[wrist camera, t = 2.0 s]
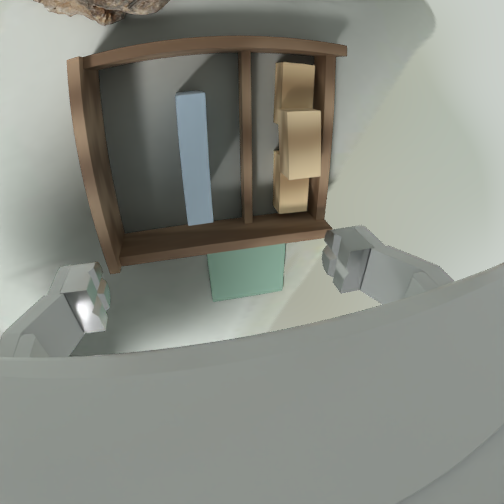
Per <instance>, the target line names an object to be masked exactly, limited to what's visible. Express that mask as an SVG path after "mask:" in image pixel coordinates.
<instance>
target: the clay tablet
mask: <svg viewBox="0 0 504 504" xmlns="http://www.w3.org/2000/svg"><path fill="white" fill-rule="evenodd" d="M33 1H36V2H39V3H43V4H44V6H45V8H47V9H48V11H49V12H54V13H57V14H67V15H68V16H70V17H71V16H73V15H75V14H80V15H85V16H86V17H88V18H89V19H91V20H96V21H97V22H98V23H99V24H101V25H103V26H106V25H109V24H113V23H115V22H117V21H119V20H121V19H123V18H124V17H125V12H126V13H129V14H139V15H147V14H151V13H156V12H157V11H159V10H161V9H162V8H163V7H164V6H165V5H166V4H167V3H168V2H169V1H170V0H33Z"/></svg>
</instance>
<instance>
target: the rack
mask: <svg viewBox="0 0 504 504" xmlns="http://www.w3.org/2000/svg"><path fill="white" fill-rule="evenodd" d="M210 53H238V78H239V126H240V166H241V202H242V217H241V218H233V219H225V220H217V221H213V223H206V224H198V225H191V226H188V224H187V225H180V226H173V227H166V228H159V229H152V230H145V231H139V232H132V233H126V234H125V232H124V228H123V224H122V220H121V216H120V211H119V207H118V202H117V198H116V193H115V188H114V183H113V178H112V173H111V167H110V162H109V156H108V150H107V144H106V137H105V130H104V122H103V114H102V105H101V96H100V84H99V70H101V69H106V68H110V67H114V66H119V65H124V64H129V63H134V62H140V61H146V60H152V59H159V58H167V57H175V56H184V55H195V54H210ZM251 53H281V54H295V55H307V56H314V65H315V75H314V94H313V109H316V110H320V111H321V176H320V177H311V178H309V188H308V201H307V211H303V212H293V213H284V214H279V213H275V214H266V215H258V216H253V212H252V122H251ZM339 56H347V46H345V45H340V44H334V43H328V42H321V41H313V40H305V39H296V38H284V37H269V36H209V37H193V38H182V39H172V40H164V41H157V42H150V43H144V44H138V45H133V46H127V47H122V48H118V49H113V50H109V51H105V52H101V53H97V54H93V55H89V56H85V57H75V58H72V59H69V60H67V74H68V86H69V97H70V106H71V114H72V121H73V128H74V135H75V141H76V147H77V152H78V157H79V163H80V167H81V172H82V177H83V181H84V186H85V190H86V194H87V198H88V202H89V206H90V210H91V214H92V217H93V221H94V225H95V228H96V232H97V235H98V238H99V242H100V245H101V248H102V251H103V254H104V257H105V260H106V263H107V266H108V269H109V272H110V274H116V273H120V271H121V266H128V265H135V264H142V263H149V262H156V261H163V260H170V259H177V258H184V257H191V256H198V255H205V254H212V253H219V252H226V251H234V250H241V249H248V248H255V247H262V246H269V245H277V244H284V243H291V242H298V241H306V240H313V239H320V238H325V234H326V231H327V230H332V227H331V226H330V225H329V224H328V223H327V222H326V221H325V220H324V217H325V208H326V199H327V190H328V180H329V170H330V159H331V146H332V133H333V117H334V97H335V68H336V57H339Z"/></svg>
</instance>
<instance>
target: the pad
mask: <svg viewBox="0 0 504 504" xmlns="http://www.w3.org/2000/svg"><path fill="white" fill-rule="evenodd" d="M284 258H285V243H284V244H277V245H269V246H262V247H255V248H248V249H241V250H234V251H226V252H219V253H212V254H207V259H208V267H209V275H210V283H211V291H212V298H213V302H216V301H222V300H229V299H235V298H241V297H247V296H253V295H259V294H265V293H271V292H276V291H282V287H283V273H284Z"/></svg>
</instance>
